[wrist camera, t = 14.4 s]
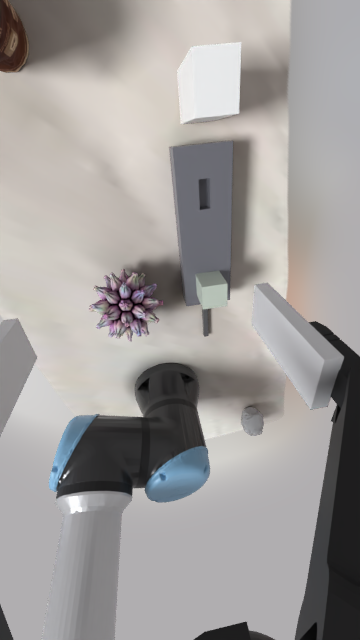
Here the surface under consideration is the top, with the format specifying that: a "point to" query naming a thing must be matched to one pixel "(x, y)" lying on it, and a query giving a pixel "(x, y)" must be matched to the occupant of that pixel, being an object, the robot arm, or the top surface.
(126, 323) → the flower
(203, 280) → the block
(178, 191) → the power strip
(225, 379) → the top surface
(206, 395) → the top surface
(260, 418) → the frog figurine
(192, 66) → the white rectangular block
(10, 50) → the coffee cup
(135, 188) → the top surface
